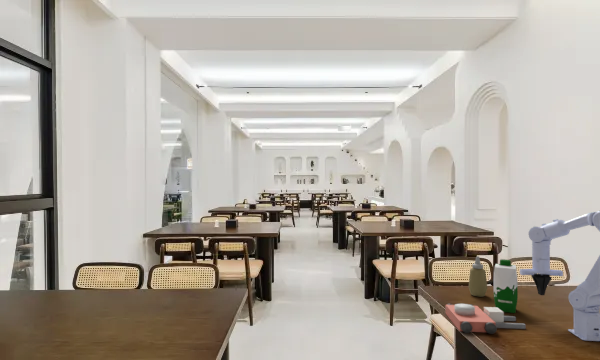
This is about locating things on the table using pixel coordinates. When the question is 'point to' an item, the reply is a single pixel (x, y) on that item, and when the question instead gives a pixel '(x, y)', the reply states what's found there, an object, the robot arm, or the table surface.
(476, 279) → the squeeze bottle
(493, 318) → the white block
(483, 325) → the forklift
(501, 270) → the milk carton
